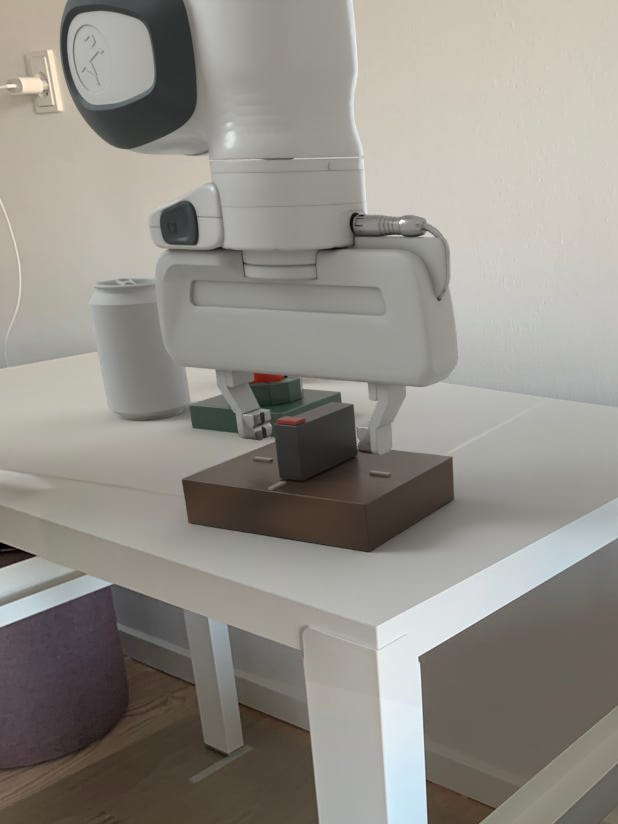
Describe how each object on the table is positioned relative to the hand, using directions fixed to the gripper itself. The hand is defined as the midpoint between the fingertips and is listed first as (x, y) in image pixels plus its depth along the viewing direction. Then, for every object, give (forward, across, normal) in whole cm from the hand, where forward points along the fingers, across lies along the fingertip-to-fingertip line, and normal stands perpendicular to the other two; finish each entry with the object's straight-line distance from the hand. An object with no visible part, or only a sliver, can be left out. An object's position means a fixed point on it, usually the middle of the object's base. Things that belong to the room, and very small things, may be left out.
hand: (314, 445), depth 65 cm
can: (+5, +32, -18) cm, 37 cm away
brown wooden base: (+4, 0, 0) cm, 5 cm away
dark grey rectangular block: (+1, 0, 0) cm, 1 cm away
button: (+1, +19, -19) cm, 27 cm away
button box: (+4, +19, -19) cm, 27 cm away
